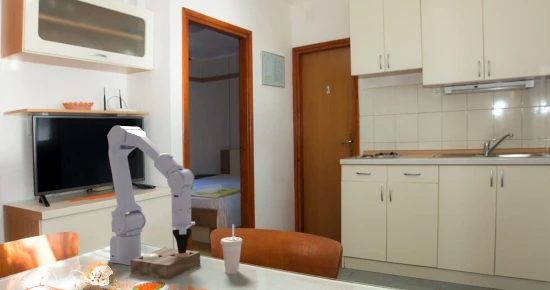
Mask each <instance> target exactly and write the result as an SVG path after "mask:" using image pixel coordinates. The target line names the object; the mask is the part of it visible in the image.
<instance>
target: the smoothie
mask: <svg viewBox="0 0 550 290" xmlns="http://www.w3.org/2000/svg"><path fill="white" fill-rule="evenodd" d="M231 225H232V228H231V229H232V233H231V236H229V237H227V236H226V237H224V238H223V237H222V238H221V239H220V245H221V247H222V249H221V250H222V255H223V262H224V268H225V269H224V271H225V273H226V274H227V275H236V274H238V273H239V268H240V261H241V249H242V243H243V238H241V237H238V236H235V224H231ZM235 273H236V274H235Z"/></svg>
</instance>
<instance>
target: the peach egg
mask: <svg viewBox="0 0 550 290" xmlns="http://www.w3.org/2000/svg"><path fill="white" fill-rule="evenodd" d="M189 251H190V250H189ZM189 251H186V253H180V254H179V252H175V257H182V258H184V257H187V256H189Z"/></svg>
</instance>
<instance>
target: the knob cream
mask: <svg viewBox="0 0 550 290" xmlns="http://www.w3.org/2000/svg"><path fill="white" fill-rule="evenodd" d="M150 253H151V252H150ZM142 256H143V260H150V261H152V260H154V259H157V258H158V254H155V253H151V254H149V253H146V254H143V255H142Z"/></svg>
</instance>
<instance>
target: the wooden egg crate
mask: <svg viewBox="0 0 550 290" xmlns="http://www.w3.org/2000/svg"><path fill="white" fill-rule="evenodd" d="M186 251H189V256H187V257H184V258H182V257H175V252H178V248H171V247H162V248H160V249H157V250H155V251H152V252H149V253H148V254H151V253H155V254H158V258H157V259H154V260H152V261H150V260H143V255H141V256H140V257H138V258H135V259H132V260H131V265H130V274H131V275H138V276H143V277H144V276H145V277H150V278H156V279H161V280H162V279H163V280H167V281H169V280H171V279H173V278H175V277H178V276H180V275H181V274H184V273H186V272H188V271H190V270H193V269H194V268H196V267H198V266H201V251H196V250H188V249H187V250H186Z"/></svg>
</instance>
